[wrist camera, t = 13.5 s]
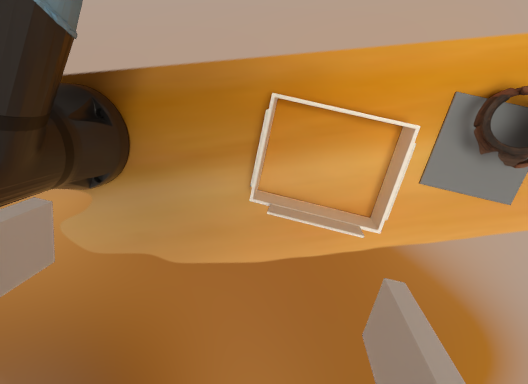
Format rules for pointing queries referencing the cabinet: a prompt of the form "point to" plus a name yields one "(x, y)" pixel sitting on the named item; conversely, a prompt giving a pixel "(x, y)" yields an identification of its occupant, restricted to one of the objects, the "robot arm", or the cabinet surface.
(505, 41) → the cabinet surface
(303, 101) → the carton
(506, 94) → the pottery mug
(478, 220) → the cabinet surface
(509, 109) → the slate mat
